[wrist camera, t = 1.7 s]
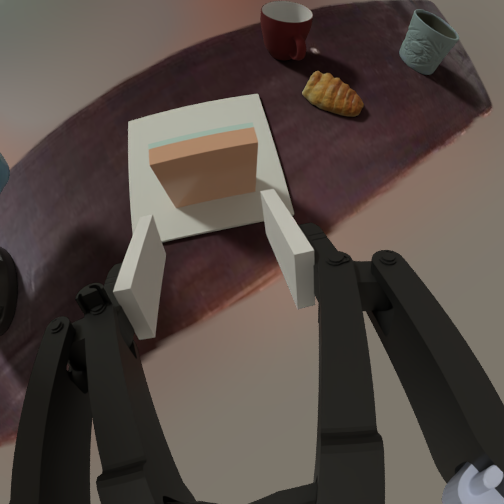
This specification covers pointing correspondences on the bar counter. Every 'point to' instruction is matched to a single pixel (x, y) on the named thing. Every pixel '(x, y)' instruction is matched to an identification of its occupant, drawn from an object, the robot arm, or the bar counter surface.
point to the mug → (285, 29)
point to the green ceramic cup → (427, 42)
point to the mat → (210, 212)
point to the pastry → (332, 95)
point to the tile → (206, 164)
